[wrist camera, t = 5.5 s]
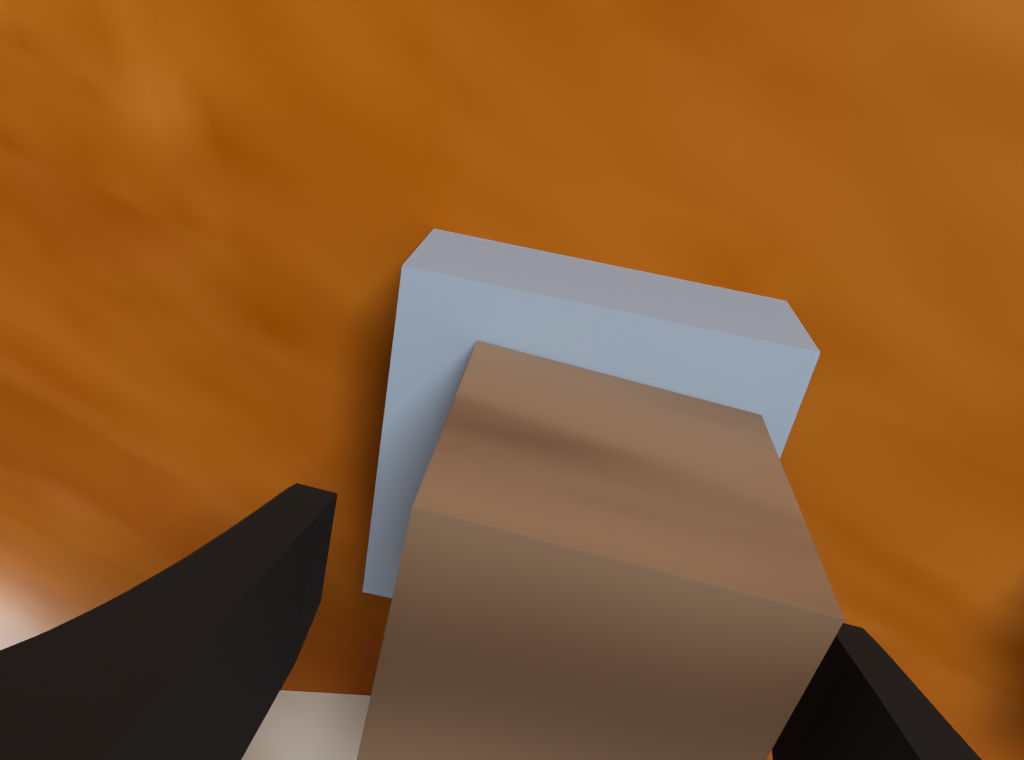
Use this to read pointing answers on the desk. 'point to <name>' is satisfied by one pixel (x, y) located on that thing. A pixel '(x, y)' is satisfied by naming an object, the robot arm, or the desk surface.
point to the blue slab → (565, 350)
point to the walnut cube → (597, 579)
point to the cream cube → (310, 727)
